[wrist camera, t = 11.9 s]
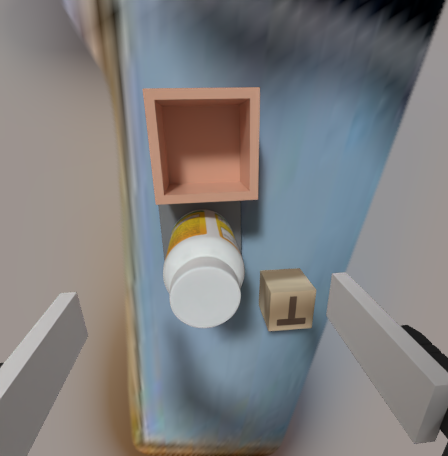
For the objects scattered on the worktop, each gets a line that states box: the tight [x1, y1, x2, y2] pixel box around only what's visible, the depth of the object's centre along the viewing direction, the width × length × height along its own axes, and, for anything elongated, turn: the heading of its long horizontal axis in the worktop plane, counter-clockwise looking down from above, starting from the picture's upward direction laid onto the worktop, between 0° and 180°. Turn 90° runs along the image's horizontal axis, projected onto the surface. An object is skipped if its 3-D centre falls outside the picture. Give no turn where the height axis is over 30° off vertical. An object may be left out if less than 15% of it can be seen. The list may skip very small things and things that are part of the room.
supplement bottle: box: [163, 210, 245, 328], centre depth 19 cm, size 5×5×10 cm
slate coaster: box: [158, 200, 241, 260], centre depth 24 cm, size 7×7×1 cm
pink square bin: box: [143, 87, 260, 205], centre depth 19 cm, size 7×7×5 cm
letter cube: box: [259, 268, 316, 331], centre depth 25 cm, size 4×4×4 cm
